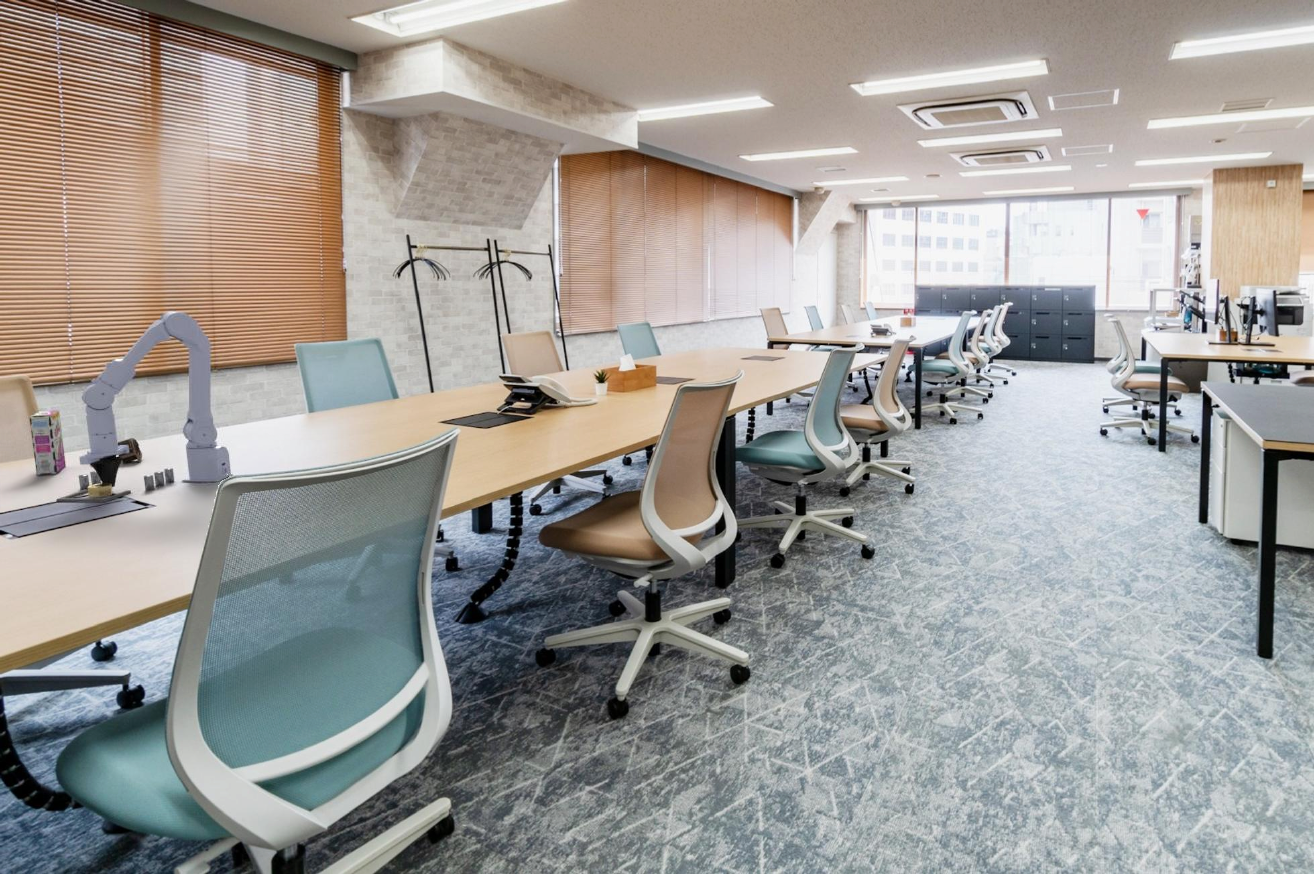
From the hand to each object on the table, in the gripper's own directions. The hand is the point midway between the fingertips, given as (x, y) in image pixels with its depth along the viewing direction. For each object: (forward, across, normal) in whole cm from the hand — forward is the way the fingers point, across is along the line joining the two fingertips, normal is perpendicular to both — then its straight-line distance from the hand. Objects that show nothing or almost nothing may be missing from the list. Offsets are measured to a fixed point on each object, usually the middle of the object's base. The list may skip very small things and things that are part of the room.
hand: (109, 486), depth 205 cm
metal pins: (+1, -7, 0) cm, 7 cm away
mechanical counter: (+2, -34, -22) cm, 41 cm away
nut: (+1, +3, 0) cm, 3 cm away
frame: (+1, +5, 0) cm, 5 cm away
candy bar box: (+2, -22, -33) cm, 40 cm away
